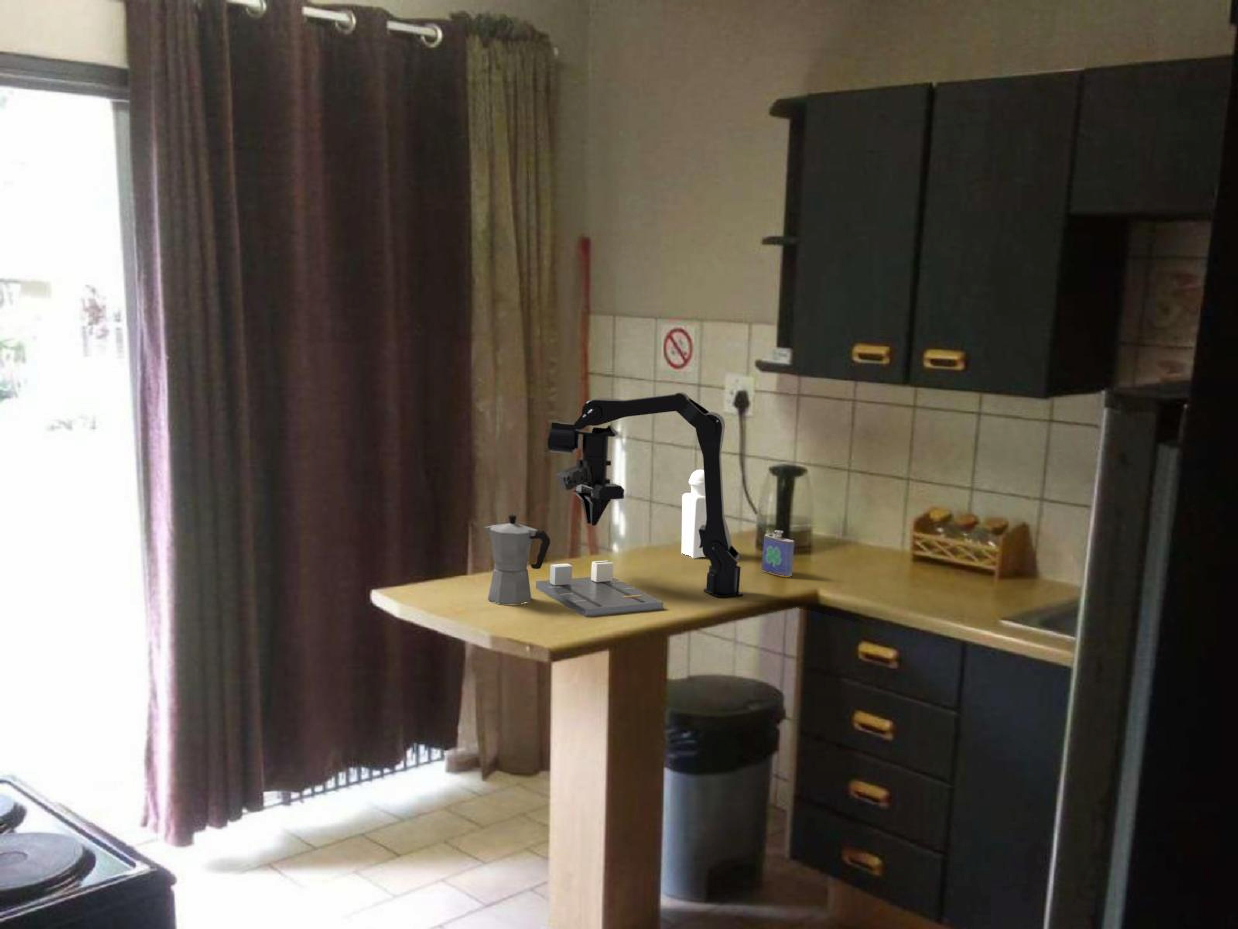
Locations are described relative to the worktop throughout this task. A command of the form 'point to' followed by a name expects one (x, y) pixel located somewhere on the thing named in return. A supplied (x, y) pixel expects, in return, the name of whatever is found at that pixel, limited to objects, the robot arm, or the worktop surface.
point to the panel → (600, 597)
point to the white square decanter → (693, 515)
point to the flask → (777, 554)
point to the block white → (560, 574)
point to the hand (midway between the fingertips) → (591, 524)
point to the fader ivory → (602, 571)
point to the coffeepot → (513, 560)
